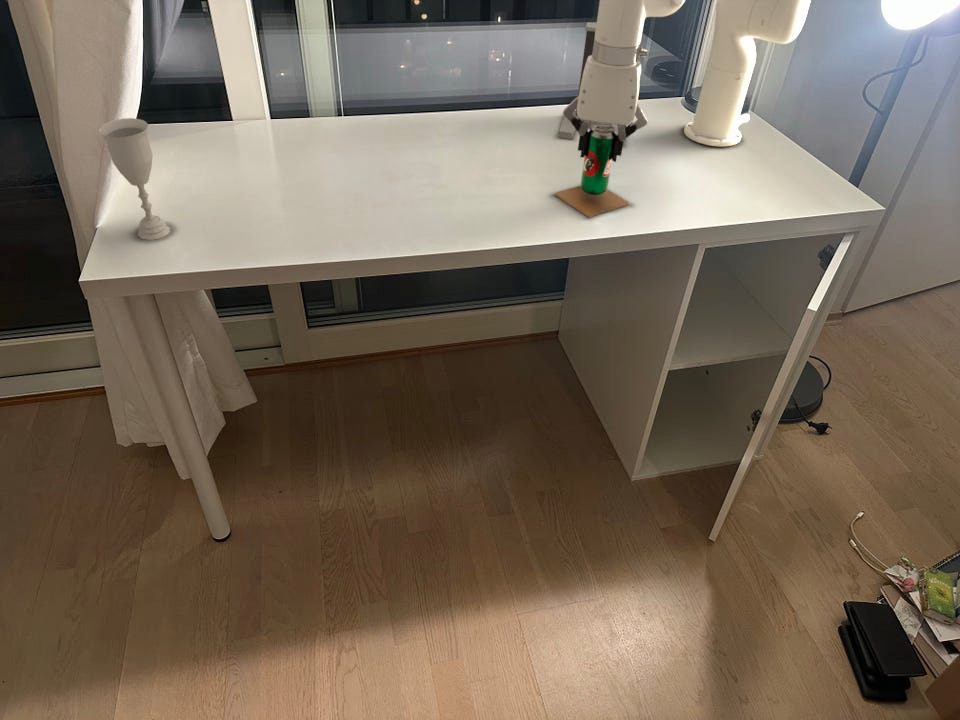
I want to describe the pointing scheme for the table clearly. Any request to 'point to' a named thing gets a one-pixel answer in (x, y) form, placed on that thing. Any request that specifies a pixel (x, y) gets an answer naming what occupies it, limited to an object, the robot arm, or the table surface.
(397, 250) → the table surface
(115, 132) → the chalice
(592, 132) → the soda can
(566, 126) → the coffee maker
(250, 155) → the table surface
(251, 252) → the table surface
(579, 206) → the mat
